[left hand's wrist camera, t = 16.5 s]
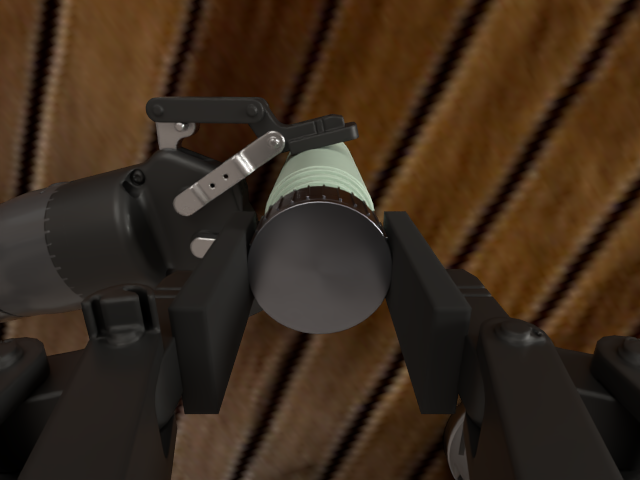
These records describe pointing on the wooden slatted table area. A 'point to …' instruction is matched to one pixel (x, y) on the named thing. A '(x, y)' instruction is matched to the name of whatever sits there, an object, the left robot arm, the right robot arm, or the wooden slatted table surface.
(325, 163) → the bottle
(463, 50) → the wooden slatted table surface
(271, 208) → the cap
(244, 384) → the wooden slatted table surface
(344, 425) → the wooden slatted table surface
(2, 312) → the right robot arm
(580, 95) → the wooden slatted table surface
